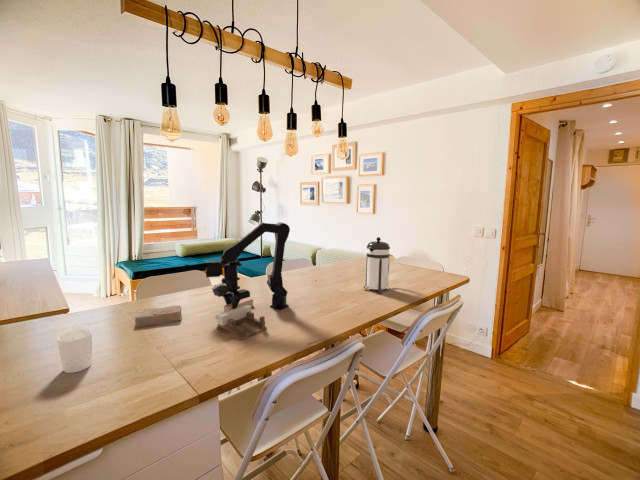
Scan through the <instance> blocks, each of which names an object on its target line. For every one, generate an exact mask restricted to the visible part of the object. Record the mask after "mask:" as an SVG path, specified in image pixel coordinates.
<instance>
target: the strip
mask: <svg viewBox="0 0 640 480" xmlns="http://www.w3.org/2000/svg"><path fill="white" fill-rule="evenodd" d="M247 312H252V307H251V306H249V305H244V306H241V307H238V308H236V309H233V310H230V311H227V312H224V311H223V312H221V313H219V314H217V315H216V316H217V325H218V324H220V325H222V326H223V325H226V324H228V320H229V319H231V318H232V319H234V320H238V319H241V318H244V317H246V316H247Z"/></svg>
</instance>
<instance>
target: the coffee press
mask: <svg viewBox="0 0 640 480" xmlns="http://www.w3.org/2000/svg"><path fill="white" fill-rule="evenodd" d="M390 250H391V246H390V244H389V243H388V242H385V241H381V237H376V241H370V242H368V244H367V245H366V259H365V260H366V263H365V264H366V265H365V284H364V287H363V288H364V289H366V290H367V289H371V290H377V292H379V293H378V294H382V291H383V290H387V289H389V290H390V289H391V288H390V287H389V272H390Z"/></svg>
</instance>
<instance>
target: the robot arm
mask: <svg viewBox="0 0 640 480" xmlns="http://www.w3.org/2000/svg"><path fill="white" fill-rule="evenodd" d="M290 232H291V229H290V226H289V225H288V224H287V223H285V222H277V223H267V222H260V223H259V224H258V225H257V226H256V227H254V228H253V229H252V230H251V231H250V232H248V233H247V234H246V235H245V236H243V237H242V238H241V239H240V240H238V241H236V242H234V243H232V244H231V245H228V246H226V247H225V248H224V249H223V253H222V254H223V255H221V256H220V257H221V258H219V259H218V260H217V261H210V260H209V261H206V262H205V263H206V266H205V278H219V277H221V276H222V275H223V278H221V281H220V283H218V284H215V285H214V286H213V287H212V288H211V290H212V293H213V295H214V296H215V297H219V298H220V297H222V298H223V299H224V301H225V305H228V304H231V303H232V308H233V309H236V308H237V306H238V304H239V302H240V300H243V299H246V298H250V297H251V291H249V290H248V289H244V288H243V289H241V286H240V285H239V282H238V281H240V279H241V278H240V277H239V274H238V270H239V269H238V267H241V266H243V264H242V262H241V261H240V260H239V259H238V258H239V257H240V256H241V255H242V253H243V252H244V251H245V249H246V248H247V247H248V246H250V245H251V244H252V243H254V242H255V241H256V240H257V239H258V238H260V237H261V236H262V235H263V234H265V233H271V234H274V238H275V239H274V240H275V245H274V255H273V260H272V261H273V264H272V271H271V273H270V274H267V280H266V284H267V287H268V288H269V289H270V291H271V292H272V293H273V294H272V296H271V297H272V298H271V305H269V308H272V309H276V310H280V311H281V310H283V309H285V308H288V307H289V306H290V305H289V304H288V303H287V295H288V290H287V289H286V287H284V285H283V275H282V272H283V271H282V269H283V265H284V264H283V263H284V262H283V261H284V254H285V248H286V247H285V246H286V242H287V240H288V238H289V234H290Z"/></svg>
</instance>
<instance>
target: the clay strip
mask: <svg viewBox="0 0 640 480" xmlns="http://www.w3.org/2000/svg"><path fill="white" fill-rule="evenodd" d="M244 305H249V306H251V308H252V307H254V299H253V298H252V297H251V298H250V297H248V298H244V299H241V300H240V302H239V304H238V306H237V308H238V307H241V306H244ZM230 310H233V308H232V303H231V304H228V305H227V304H225V305H223V313H224V312H227V311H230Z"/></svg>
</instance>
